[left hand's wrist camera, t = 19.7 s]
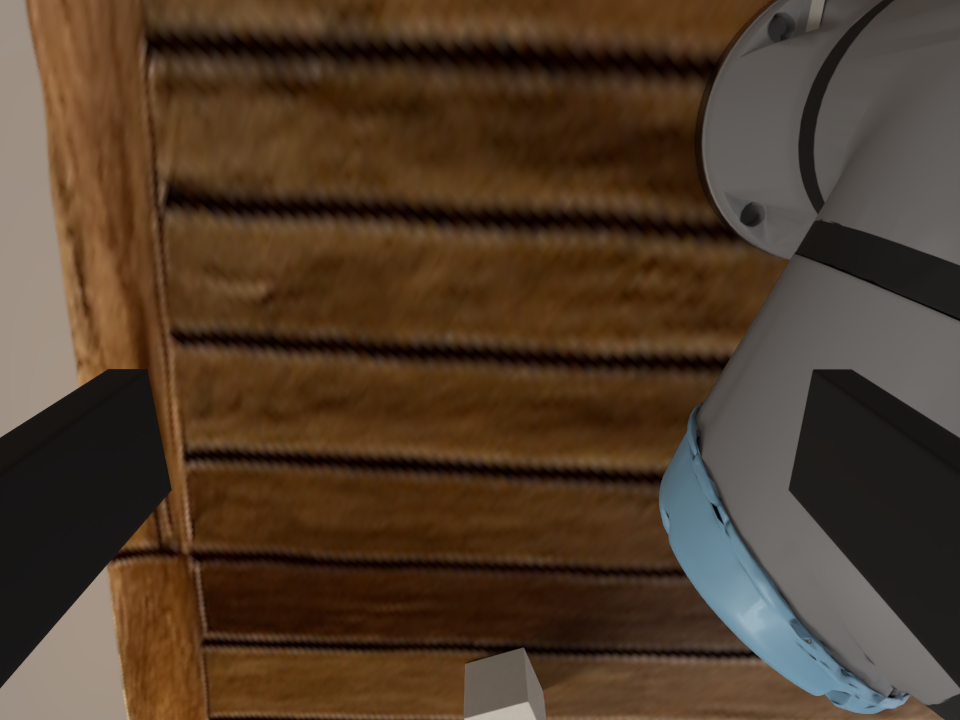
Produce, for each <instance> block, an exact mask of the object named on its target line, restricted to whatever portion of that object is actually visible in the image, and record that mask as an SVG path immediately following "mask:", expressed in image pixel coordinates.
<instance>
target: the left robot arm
mask: <svg viewBox="0 0 960 720" xmlns="http://www.w3.org/2000/svg"><path fill="white" fill-rule="evenodd" d="M695 154H696V163H697V169H698V173H699V178H700V181H701V184H702V187H703V190H704V193H705V195H706V197H707V199H708V201H709V203H710V205H711V207H712V208H713V210H714V212H715V213H716V214H717V216H718V217H719V218H720V220H721V221H722V222H723V223H724V224H725V225H726V226H727V228H728V229H729V230H730V231H732V232H733V233H734V234H735V235H736V236H738V237H739V238H740V239H742V240H743V241H745V242H746V243H748V244H750V245H751V246H753V247H755V248H757V249H759V250H762V251H764V252H767V253H769V254H772V255H774V256H777V257H780V258H783V259H787V260H790V261H789V263H788V264H787V266H786V268H785V269H784V271H783V273H782V274H781V276H780V278H779V279H778V281H777V283H776V284H775V286H774V288H773V289H772V291H771V292H770V294H769V296H768V297H767V299H766V301H765V302H764V304H763V306H762V307H761V309H760V311H759V312H758V314H757V315H756V317H755V319H754V320H753V322H752V324H751V325H750V327H749V329H748V330H747V332H746V334H745V335H744V337H743V339H742V340H741V342H740V343H739V345H738V347H737V348H736V350H735V352H734V353H733V355H732V357H731V358H730V360H729V362H728V363H727V365H726V366H725V368H724V370H723V371H722V373H721V375H720V376H719V378H718V380H717V381H716V383H715V385H714V386H713V388H712V389H711V391H710V393H709V394H708V396H707V398H706V399H705V401H704V403H701V404H698V405H697V406H696V407H695V408H694V410H693V411H692V413H691V415H690V417H689V420H688V430H687V432H686V434H685V436H684V438H683V440H682V442H681V443H680V445H679V447H678V449H677V451H676V453H675V455H674V457H673V458H672V460H671V462H670V464H669V466H668V468H667V470H666V472H665V474H664V476H663V479H662V482H661V487H660V494H659V506H660V513H661V517H662V521H663V525H664V527H665V529H666V531H667V533H668V535H669V542H670V545H671V547H672V550H673V552H674V554H675V556H676V558H677V560H678V562H679V563H680V565H681V567H682V568H683V570H684V571H685V573H686V575H687V576H688V578H689V579H690V581H691V582H692V584H693V585H694V586H695V588H696V589H697V591H698V592H699V593H700V595H701V596H702V597H703V599H704V600H705V601H706V602H707V604H708V605H709V606H710V607H711V608H712V610H713V611H714V612H715V613H716V614H717V615H718V616H719V617H720V619H721V620H722V621H723V622H724V623H725V624H726V625H727V626H728V627H729V628H730V629H731V630H732V631H733V633H734V634H735V635H736V636H737V637H738V638H739V639H740V640H741V641H742V642H743V643H744V644H745V645H747V646H748V647H749V648H750V649H751V650H752V651H753V652H754V653H755V654H757V655H758V656H759V657H760V658H761V659H762V660H763V661H765V662H766V663H767V664H768V665H769V666H771V667H772V668H773V669H775V670H776V671H777V672H778V673H780V674H781V675H782V676H784V677H785V678H787V679H788V680H790V681H791V682H792V683H794V684H795V685H797V686H799V687H800V688H802V689H804V690H805V691H807V692H809V693H810V694H812V695H815V696H821V695H824V694H825V695H826V696H827V697H828V699H829V700H830V701H831V702H832V703H833V704H834V705H835V706H837V707H840V708H843V709H846V710H849V711H852V712H855V713H863V714H875V713H877V712H880V711H882V710H884V709H887V708H890V709H895V708H896V707H897V706H900V705H902V704H904V703H905V702H906V700H907V699H908V697H909V696H910V695H912V696H913V697H915V698H916V699H918V700H919V701H920V702H922V703H923V704H925V705H926V706H927V707H929V708H930V709H931V710H933V711H934V712H935V713H937V714H938V715H939V716H941V717H942V718H943V719H945V720H960V0H773V1H771V2H770V3H769V4H767V5H766V6H765V7H764V8H762V9H761V10H760V11H759V12H758V13H756V14H755V15H754V16H753V17H752V18H751V19H750V20H749V21H748V22H747V23H746V24H745V25H744V26H743V27H742V28H741V29H740V30H739V31H738V33H737V34H736V35H735V37H734V38H733V39H732V40H731V42H730V43H729V44H728V46H727V47H726V49H725V50H724V52H723V53H722V55H721V56H720V58H719V60H718V62H717V64H716V65H715V67H714V69H713V71H712V73H711V75H710V78H709V80H708V82H707V85H706V88H705V90H704V93H703V96H702V99H701V103H700V107H699V111H698V117H697V123H696V134H695ZM171 490H172V489H171V484H170V479H169V475H168V470H167V465H166V460H165V455H164V450H163V445H162V440H161V435H160V430H159V425H158V420H157V415H156V410H155V406H154V401H153V396H152V391H151V386H150V381H149V376H148V371H147V369H108V370H106V371H105V372H103V373H102V374H100V375H98V376H97V377H95V378H94V379H92V380H91V381H89V382H87V383H86V384H84V385H83V386H81V387H79V388H78V389H76V390H75V391H73V392H72V393H70V394H68V395H67V396H65V397H64V398H62V399H61V400H59V401H57V402H56V403H54V404H53V405H51V406H50V407H48V408H46V409H45V410H43V411H42V412H40V413H39V414H37V415H35V416H34V417H32V418H31V419H29V420H27V421H26V422H24V423H23V424H21V425H20V426H18V427H16V428H15V429H13V430H12V431H10V432H9V433H7V434H5V435H4V436H2V437H1V438H0V688H1V687H2V686H3V684H4V683H5V682H6V681H7V680H8V679H9V678H10V676H11V675H12V674H13V673H14V672H15V671H16V669H17V668H18V667H19V666H20V665H21V664H22V663H23V661H24V660H25V659H26V658H27V657H28V656H29V654H30V653H31V652H32V651H33V650H34V649H35V647H36V646H37V645H38V644H39V643H40V642H41V641H42V639H43V638H44V637H45V636H46V635H47V634H48V632H49V631H50V630H51V629H52V628H53V627H54V625H55V624H56V623H57V622H58V621H59V620H60V619H61V617H62V616H63V615H64V614H65V613H66V612H67V610H68V609H69V608H70V607H71V606H72V605H73V604H74V602H75V601H76V600H77V599H78V598H79V597H80V595H81V594H82V593H83V592H84V591H85V590H86V588H87V587H88V586H89V585H90V584H91V583H92V582H93V580H94V579H95V578H96V577H97V576H98V575H99V573H100V572H101V571H102V570H103V569H104V568H105V567H106V565H107V564H108V563H109V562H110V561H111V560H112V558H113V557H114V556H115V555H116V554H117V553H118V551H119V550H120V549H121V548H122V547H123V546H124V545H125V543H126V542H127V541H128V540H129V539H130V538H131V536H132V535H133V534H134V533H135V532H136V531H137V530H138V528H139V527H140V526H141V525H142V524H143V523H144V521H145V520H146V519H147V518H148V517H149V516H150V514H151V513H152V512H153V511H154V510H155V509H156V508H157V506H158V505H159V504H160V503H161V502H162V501H163V499H164V498H165V497H166V496H167V495H168V494H169V492H170V491H171Z"/></svg>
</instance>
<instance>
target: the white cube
mask: <svg viewBox="0 0 960 720" xmlns="http://www.w3.org/2000/svg"><path fill="white" fill-rule="evenodd" d="M464 720H546V714H545V705H544V696H543V690H542V688H541V686H540V683H539V681H538V679H537V677H536V674H535V672H534V670H533V667H532V665H531V663H530V661H529V658H528V656H527V654H526V651H525V649H524V648H520V649H516V650H513V651H509V652H506V653H502V654H499V655H495V656H491V657H488V658H484V659H481V660H477V661H474V662H470V663H466V664H465V697H464Z"/></svg>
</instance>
